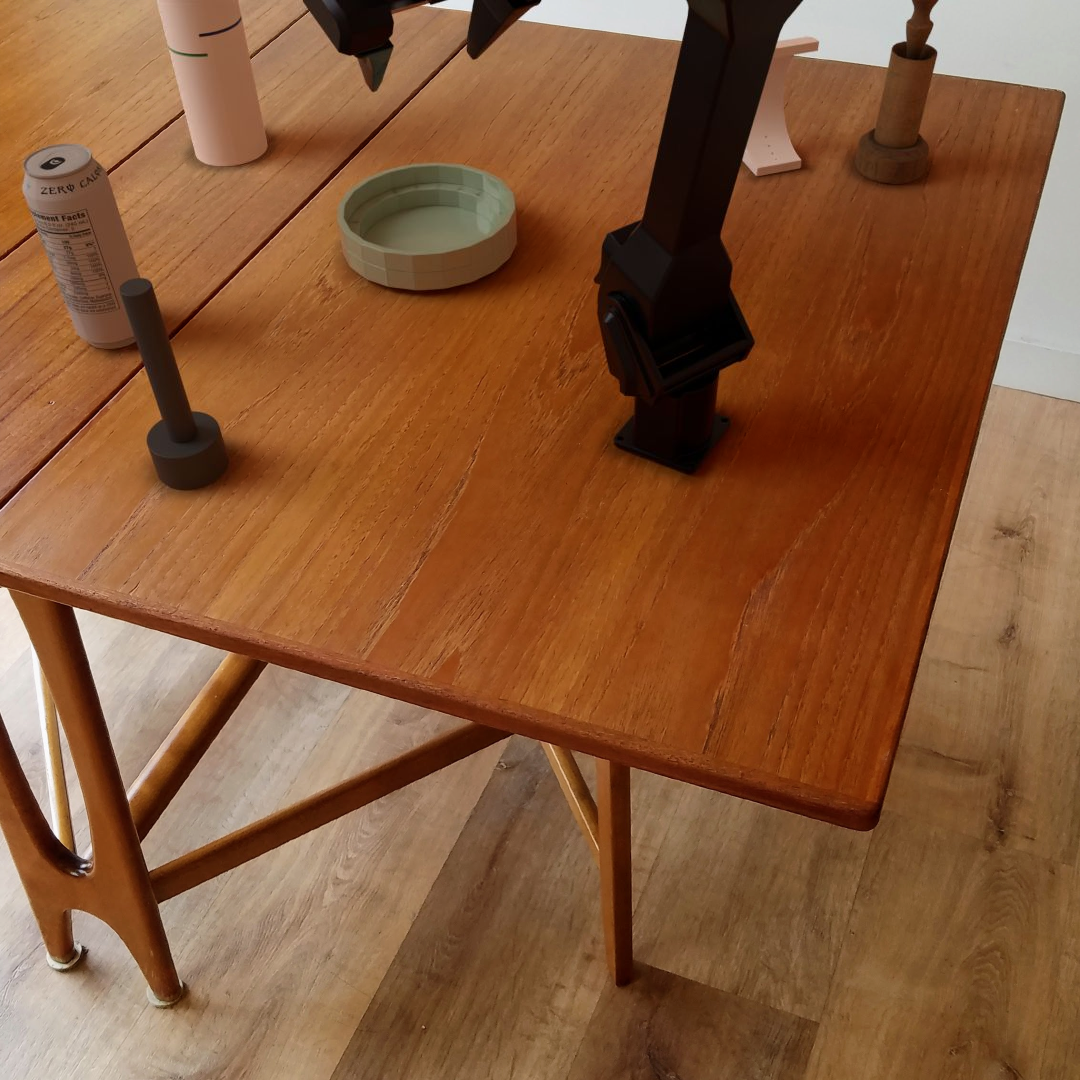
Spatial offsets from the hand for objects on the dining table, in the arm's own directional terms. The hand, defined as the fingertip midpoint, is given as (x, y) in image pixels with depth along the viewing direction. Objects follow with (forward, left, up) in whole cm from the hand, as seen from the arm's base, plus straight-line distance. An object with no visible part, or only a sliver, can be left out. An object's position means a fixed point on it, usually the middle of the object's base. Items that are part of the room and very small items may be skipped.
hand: (422, 71), depth 90 cm
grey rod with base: (-32, -1, -16) cm, 36 cm away
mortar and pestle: (+33, -29, -16) cm, 47 cm away
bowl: (0, +1, -16) cm, 16 cm away
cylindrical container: (+5, +29, -16) cm, 33 cm away
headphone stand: (+29, -18, -16) cm, 38 cm away
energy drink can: (-23, +16, -16) cm, 32 cm away
